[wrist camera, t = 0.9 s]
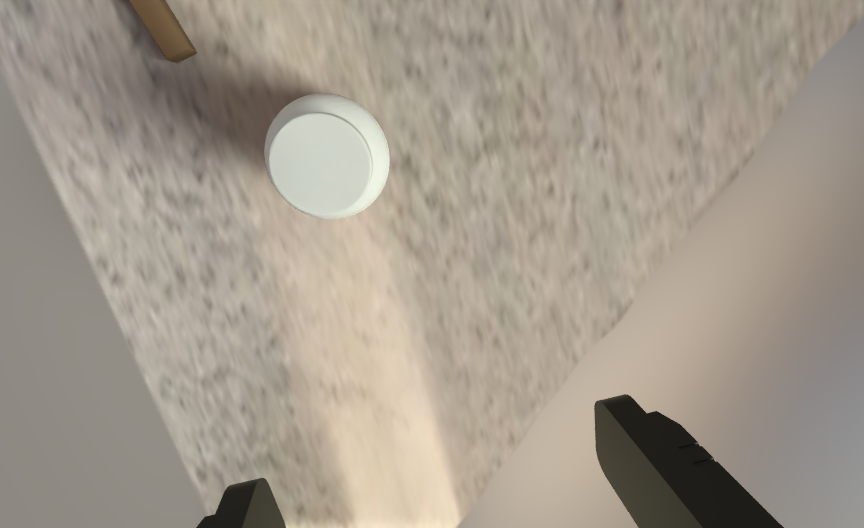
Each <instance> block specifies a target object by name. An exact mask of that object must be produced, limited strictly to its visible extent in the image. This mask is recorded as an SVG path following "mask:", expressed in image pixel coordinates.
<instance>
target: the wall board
mask: <svg viewBox="0 0 864 528" xmlns="http://www.w3.org/2000/svg"><path fill="white" fill-rule="evenodd" d="M129 1H130V2H131V4H132V5H133V7H134V9H135V10H136V12H137V13H138V15H139V16H140V18H141V20H142V21H143V23H144V24H145V26H146V27H147V29H148V31H149V32H150V34H151V35H152V37H153V38H154V40H155V42H156V43H157V45H158V46H159V48H160V49H161V51H162V53H163V54H164V56H165V57H166V59H167V60H170V61H173V62H176V63H178V62H180V61H182V60H184V59H186V58H188V57H190V56H192V55H194V54H196V53H197V52H196V50H195V48H194V47H193V45H192V43H191V42H190V40H189V39H188V37H187V35H186V34H185V32H184V30H183V29H182V27H181V25H180V24H179V22H178V20H177V19H176V17H175V15H174V14H173V12H172V11H171V9H170V7H169V6H168V4H167V2H166V1H165V0H129Z"/></svg>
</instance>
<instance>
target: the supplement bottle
mask: <svg viewBox="0 0 864 528" xmlns="http://www.w3.org/2000/svg"><path fill="white" fill-rule="evenodd" d="M264 157H265V164H266V169H267V172H268V175H269V177H270V179H271V182H272V184H273V185H274V187H275V188H276V190H277V191H278V193H279V194H280V195H281V196H282V197H283V198H284V199H285V200H286V201H287V202H288V203H289V204H290V205H291V206H293V207H294V208H296V209H297V210H299V211H301V212H303V213H305V214H307V215H310V216H313V217H317V218H322V219H340V218H345V217H349V216H352V215H355V214H357V213H359V212H360V211H362V210H364V209H365V208H367V207H368V206H369V205H370V204H371V203H372V202H373V201H374V200H375V199H376V198H377V197H378V195H379V194H380V192H381V191H382V189H383V187H384V185H385V183H386V180H387V177H388V173H389V165H390V157H389V149H388V144H387V141H386V138H385V135H384V133H383V131H382V129H381V127H380V126H379V124H378V123H377V121H376V120H375V119H374V118H373V116H372V115H371V114H370V113H369V112H368V111H367V110H366V109H364V108H363V107H362V106H361V105H359V104H357V103H356V102H354V101H352V100H350V99H348V98H345V97H342V96H339V95H334V94H327V93H318V94H311V95H306V96H303V97H300V98H298V99H296V100H294V101H292V102H291V103H289V104H288V105H286V106H285V107H284V108H283V109H282V110H281V111H280V112H279V113H278V114H277V116H276V117H275V119H274V120H273V122H272V123H271V125H270V127H269V129H268V133H267V136H266V140H265V147H264Z"/></svg>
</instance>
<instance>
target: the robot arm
mask: <svg viewBox="0 0 864 528" xmlns="http://www.w3.org/2000/svg"><path fill="white" fill-rule="evenodd" d="M594 409H595V434H596V435H595V437H596V452H597V457H598V460H599V463H600V466H601V468H602V470H603V472H604V474H605V476H606V478H607V479H608V481H609V482H610V484H611V485H612V487H613V489H614V490H615V492H616V493H617V495H618V496H619V498H620V499H621V501H622V502H623V504H624V506H625V507H626V509H627V510H628V512H629V513H630V515H631V516H632V518H633V519H634V521H635V523H636V524H637V526H638V527H639V528H784V527H783V526H782V525H780V524H779V523H778V522H777V521H776V520H775V519H774V518H773V517H772V516H771V515H770V514H769V513H768V512H767V511H766V510H765V509H764V508H763V507H762V506H761V505H760V504H759V503H758V502H757V501H756V500H755V499H754V498H753V497H752V496H751V495H750V494H749V493H748V492H747V491H746V490H745V489H744V488H743V487H742V486H741V485H740V484H739V483H738V482H737V481H736V480H735V479H734V478H733V477H732V476H731V475H730V474H729V473H728V472H727V471H726V470H725V469H724V468H723V467H722V466H721V465H720V464H719V463H718V462H715V461H714V459H713V457H712V456H711V455H710V454H709V453H708V452H707V451H706V450H705V449H704V448H703V447H702V446H699V444H698V442H697V441H696V440H695V439H694V438H693V437H692V436H691V435H690V434H689V433H688V432H687V431H686V430H685V429H684V428H683V427H682V426H681V425H680V424H678V423H677V422H675V421H673V420H671V419H669V418H668V417H666V416H664V415H662V414H661V413H659V412H657V411H655V412H651V413H646V412H645V411H644V410H643V409H642V408H641V407H640V406H639V405H638V404H637V402H636V401H635V400H634V399H633V398H632V397H631V396H629V395H621V396H617V397H612V398H608V399H604V400H599V401H596V403H595V408H594ZM196 528H286V526H285V523H284V520H283V518H282V515H281V513H280V510H279V508H278V506H277V503H276V501H275V498H274V496H273V494H272V491H271V489H270V486H269V484H268V482H267V480H266V479H265V478H259V479H255V480H251V481H247V482H242V483H238V484H234V485H230V486H228V487H227V489H226V490H225V492H224V494H223V497H222V499H221V502H220V504H219V506H218V509H217V511H216V514H215V515H211V516H207V517H205V518H204V519H203V520H202V521H201V522H200V524H199V525H198V526H197V527H196Z"/></svg>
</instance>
